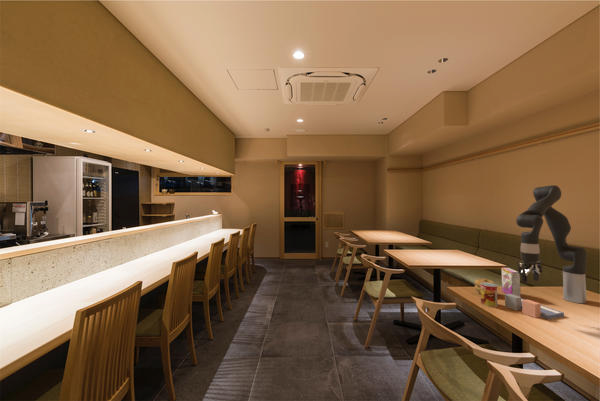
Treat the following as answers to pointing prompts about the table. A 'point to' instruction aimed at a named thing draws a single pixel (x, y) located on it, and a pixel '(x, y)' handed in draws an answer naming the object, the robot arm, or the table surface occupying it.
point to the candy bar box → (510, 282)
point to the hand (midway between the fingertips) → (530, 281)
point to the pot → (478, 284)
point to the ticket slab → (549, 312)
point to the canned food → (489, 294)
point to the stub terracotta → (531, 308)
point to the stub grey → (513, 302)
